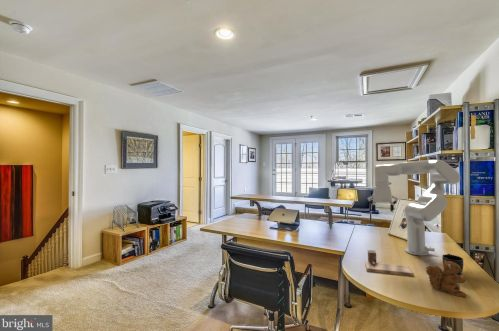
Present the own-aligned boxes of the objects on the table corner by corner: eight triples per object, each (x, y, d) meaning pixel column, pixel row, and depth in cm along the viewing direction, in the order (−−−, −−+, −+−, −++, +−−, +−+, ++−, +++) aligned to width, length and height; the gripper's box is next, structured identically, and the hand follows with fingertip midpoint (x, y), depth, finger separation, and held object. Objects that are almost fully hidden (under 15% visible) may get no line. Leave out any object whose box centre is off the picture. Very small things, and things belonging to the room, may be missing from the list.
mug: (459, 271, 128) (459, 253, 128) (465, 281, 118) (465, 261, 118) (440, 268, 132) (439, 251, 132) (444, 277, 122) (443, 258, 122)
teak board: (409, 268, 133) (408, 266, 133) (413, 276, 125) (413, 273, 125) (365, 264, 141) (365, 261, 141) (367, 271, 132) (366, 268, 132)
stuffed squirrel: (469, 298, 103) (468, 268, 103) (428, 291, 110) (427, 262, 110) (462, 288, 112) (461, 259, 112) (425, 281, 119) (424, 254, 119)
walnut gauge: (375, 262, 143) (375, 250, 143) (378, 269, 134) (377, 256, 134) (368, 261, 145) (367, 249, 145) (370, 268, 135) (369, 256, 135)
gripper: (396, 183, 154) (397, 210, 154) (366, 184, 160) (367, 209, 160) (398, 184, 147) (400, 212, 147) (367, 185, 153) (368, 212, 153)
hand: (383, 211), depth 153 cm, fingers open, 9 cm apart
